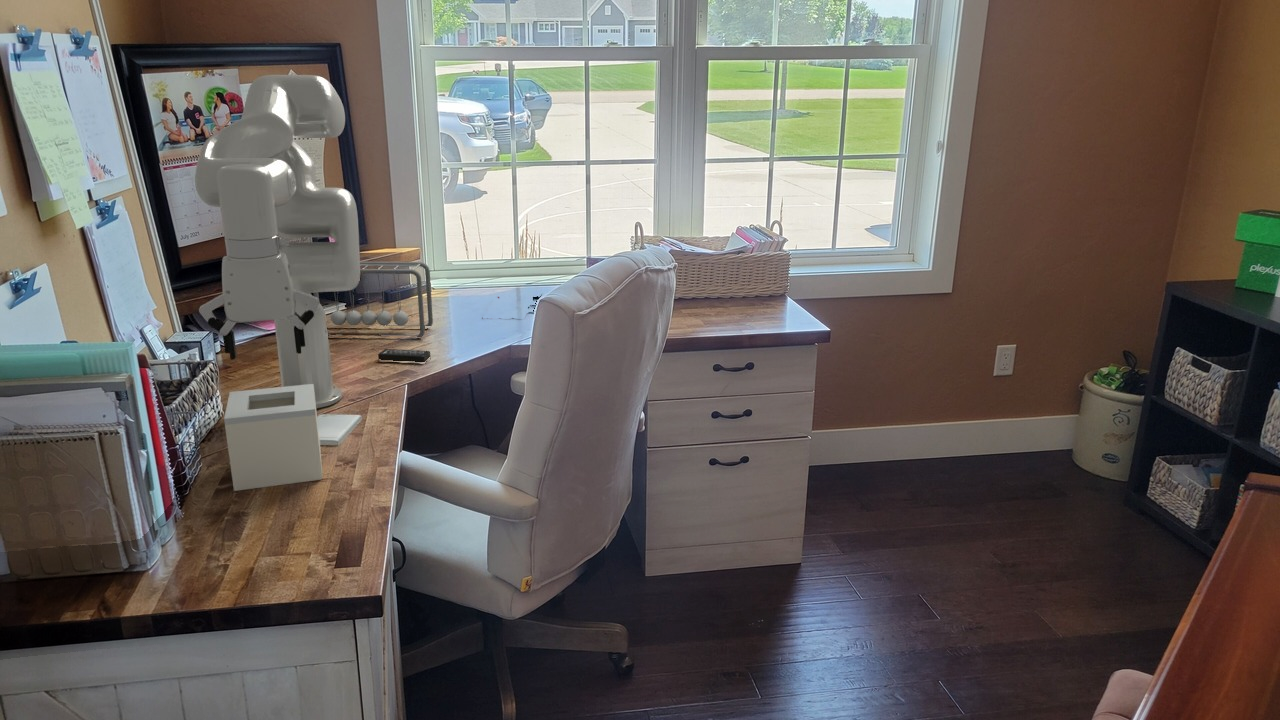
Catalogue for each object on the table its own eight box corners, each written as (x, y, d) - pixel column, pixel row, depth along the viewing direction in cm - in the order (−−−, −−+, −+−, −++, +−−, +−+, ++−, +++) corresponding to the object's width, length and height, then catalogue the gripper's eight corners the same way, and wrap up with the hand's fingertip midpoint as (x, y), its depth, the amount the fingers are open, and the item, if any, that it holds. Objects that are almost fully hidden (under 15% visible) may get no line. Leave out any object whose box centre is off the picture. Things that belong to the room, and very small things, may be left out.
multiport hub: (424, 366, 200) (423, 356, 200) (378, 363, 202) (377, 354, 201) (431, 360, 205) (430, 350, 204) (386, 358, 206) (385, 348, 205)
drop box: (238, 459, 149) (229, 391, 145) (320, 449, 153) (313, 383, 150) (234, 491, 137) (224, 418, 134) (322, 479, 142) (315, 409, 138)
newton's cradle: (433, 329, 230) (429, 261, 224) (424, 340, 220) (420, 269, 214) (318, 328, 229) (311, 260, 224) (303, 339, 219) (296, 268, 214)
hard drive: (318, 414, 167) (291, 438, 155) (361, 414, 167) (338, 439, 155) (319, 422, 167) (292, 447, 155) (362, 423, 167) (338, 448, 155)
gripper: (312, 240, 141) (323, 342, 146) (192, 246, 135) (208, 352, 141) (313, 249, 134) (325, 356, 140) (187, 256, 128) (204, 367, 134)
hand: (266, 354), depth 140 cm, fingers open, 9 cm apart
